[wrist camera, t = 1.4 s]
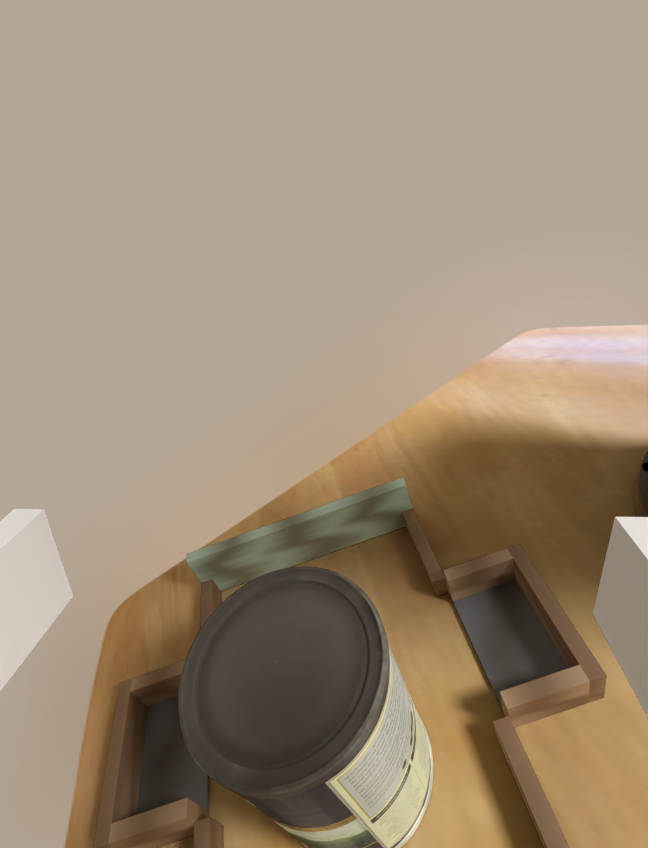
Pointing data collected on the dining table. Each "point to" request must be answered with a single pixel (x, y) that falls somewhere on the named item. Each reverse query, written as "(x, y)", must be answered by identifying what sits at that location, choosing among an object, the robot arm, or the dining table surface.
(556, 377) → the dining table surface
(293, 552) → the wooden tray
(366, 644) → the coffee can
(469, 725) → the dining table surface
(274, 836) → the dining table surface
